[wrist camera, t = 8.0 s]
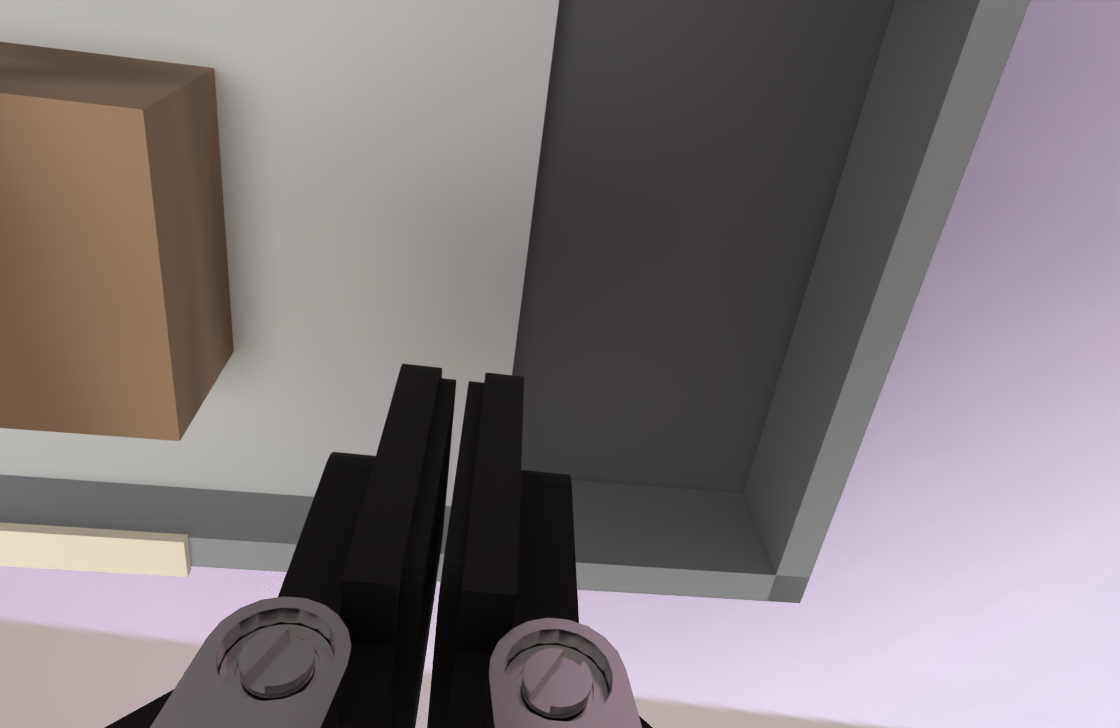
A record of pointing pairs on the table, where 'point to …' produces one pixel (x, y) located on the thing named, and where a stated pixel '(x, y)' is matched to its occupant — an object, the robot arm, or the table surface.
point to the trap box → (540, 263)
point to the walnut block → (109, 243)
